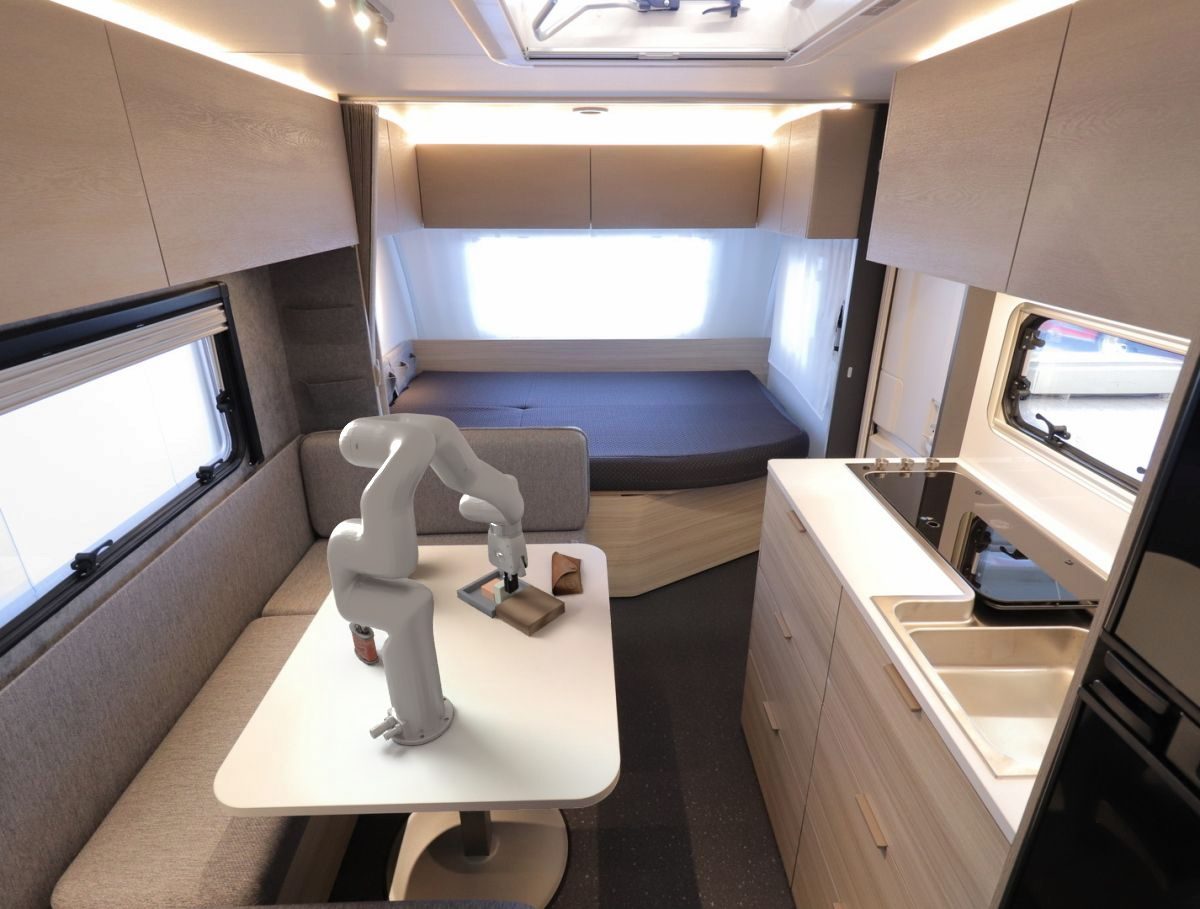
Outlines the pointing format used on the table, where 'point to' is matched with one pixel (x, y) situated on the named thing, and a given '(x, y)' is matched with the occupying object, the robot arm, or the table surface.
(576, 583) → the sunglasses case
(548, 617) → the brown square slab
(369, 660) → the lighter
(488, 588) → the tile
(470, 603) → the tray
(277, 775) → the table surface
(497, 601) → the pale green rectangular block
